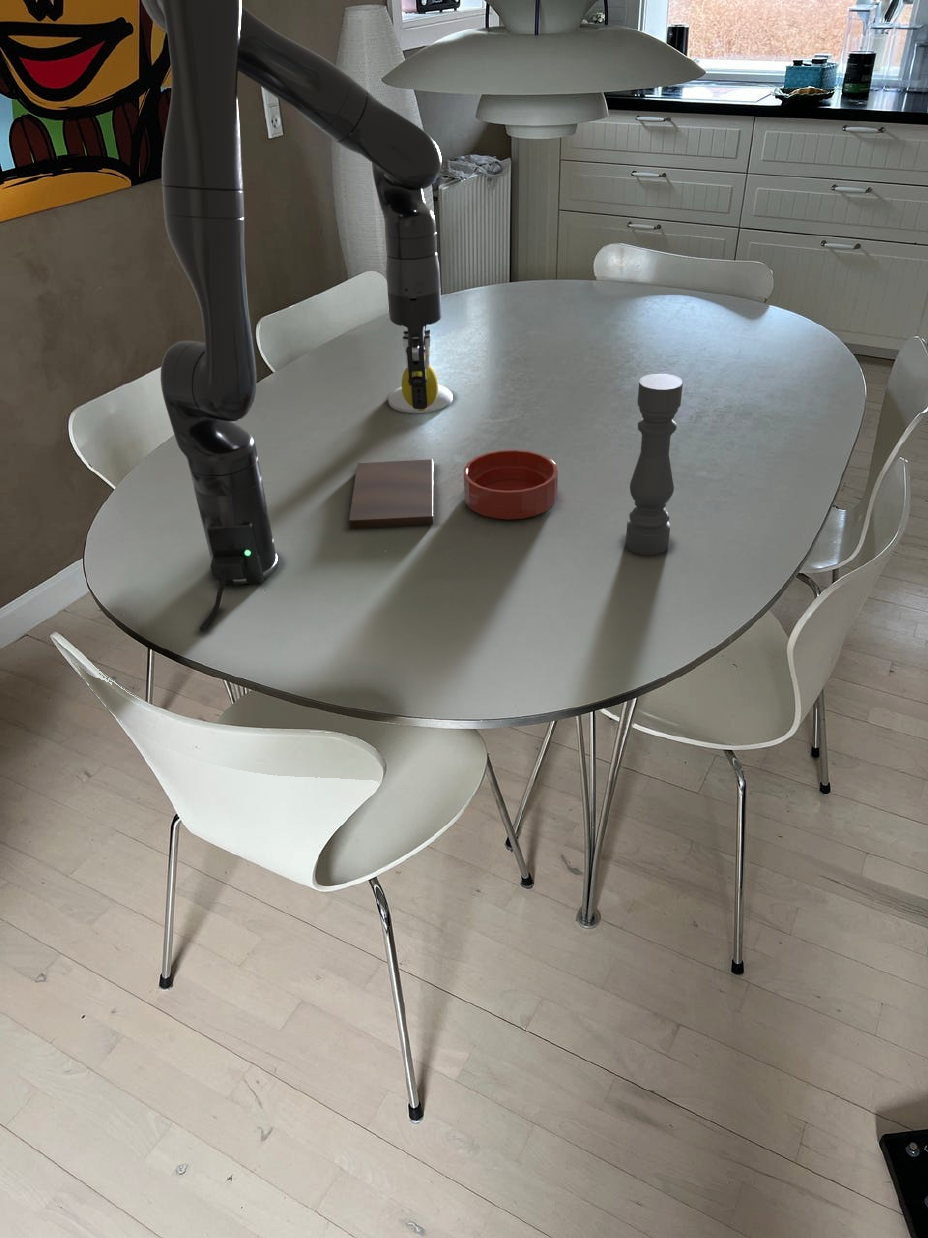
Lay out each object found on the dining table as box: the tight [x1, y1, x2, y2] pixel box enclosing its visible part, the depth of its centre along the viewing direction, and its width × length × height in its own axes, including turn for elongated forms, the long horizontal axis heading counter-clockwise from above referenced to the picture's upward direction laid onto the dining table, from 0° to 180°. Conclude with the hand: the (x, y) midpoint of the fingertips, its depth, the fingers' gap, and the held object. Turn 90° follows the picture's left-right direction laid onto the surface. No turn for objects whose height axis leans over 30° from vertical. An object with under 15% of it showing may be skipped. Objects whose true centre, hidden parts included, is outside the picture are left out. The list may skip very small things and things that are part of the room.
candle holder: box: [625, 373, 684, 556], centre depth 129 cm, size 6×6×25 cm
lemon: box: [401, 364, 439, 411], centre depth 140 cm, size 6×6×8 cm
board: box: [348, 458, 434, 530], centre depth 152 cm, size 20×13×2 cm, turn 2°
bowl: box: [462, 449, 559, 520], centre depth 148 cm, size 15×15×5 cm
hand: (420, 399), depth 141 cm, fingers closed on lemon, 5 cm apart
